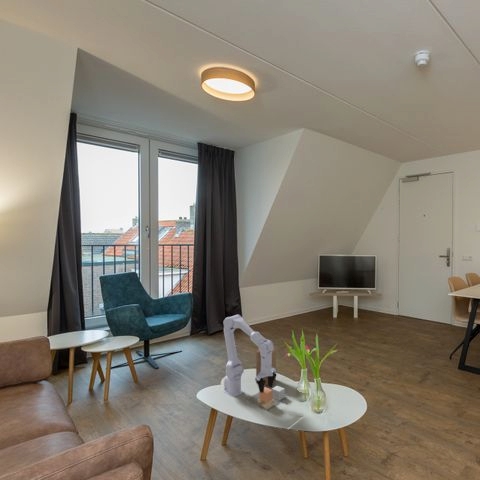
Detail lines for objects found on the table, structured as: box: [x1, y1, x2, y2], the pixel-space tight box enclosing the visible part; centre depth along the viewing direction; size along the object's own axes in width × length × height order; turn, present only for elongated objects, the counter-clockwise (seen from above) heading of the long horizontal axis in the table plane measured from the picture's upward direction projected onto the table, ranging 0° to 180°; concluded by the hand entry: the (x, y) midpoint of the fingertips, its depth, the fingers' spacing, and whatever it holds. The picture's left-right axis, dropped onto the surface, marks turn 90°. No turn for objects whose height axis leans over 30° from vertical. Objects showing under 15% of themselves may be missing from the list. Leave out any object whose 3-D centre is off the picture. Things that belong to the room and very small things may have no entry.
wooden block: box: [255, 348, 277, 386], centre depth 198 cm, size 10×10×20 cm
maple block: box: [258, 399, 274, 410], centre depth 171 cm, size 6×6×3 cm
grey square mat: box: [245, 392, 289, 412], centre depth 177 cm, size 16×18×1 cm
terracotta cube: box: [258, 386, 273, 403], centre depth 170 cm, size 5×5×5 cm
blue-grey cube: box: [271, 385, 285, 400], centre depth 179 cm, size 5×5×5 cm
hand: (265, 389), depth 171 cm, fingers open, 7 cm apart
